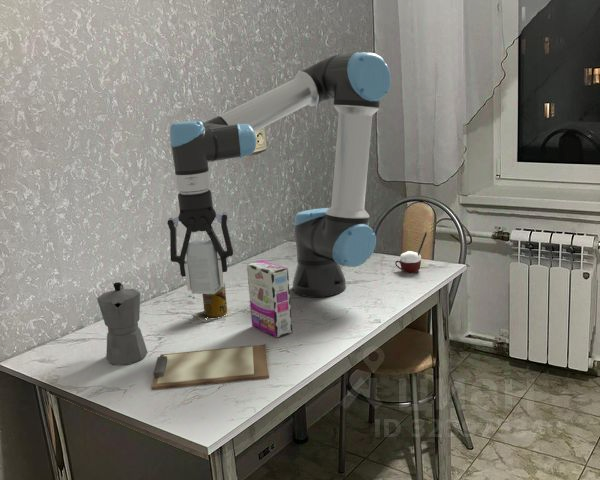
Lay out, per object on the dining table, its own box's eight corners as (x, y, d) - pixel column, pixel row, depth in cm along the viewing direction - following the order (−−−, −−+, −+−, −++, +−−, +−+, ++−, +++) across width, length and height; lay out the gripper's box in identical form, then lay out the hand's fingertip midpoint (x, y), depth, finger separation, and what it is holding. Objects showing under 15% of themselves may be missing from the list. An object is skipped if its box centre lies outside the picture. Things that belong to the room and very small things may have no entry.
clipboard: (265, 346, 152) (265, 339, 151) (268, 377, 136) (268, 370, 136) (160, 356, 150) (159, 349, 150) (152, 389, 135) (150, 381, 134)
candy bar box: (293, 332, 159) (289, 268, 155) (277, 338, 156) (271, 273, 152) (267, 320, 168) (262, 259, 163) (251, 326, 165) (245, 263, 160)
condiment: (233, 314, 173) (229, 271, 170) (204, 323, 169) (199, 278, 166) (221, 307, 179) (216, 265, 176) (192, 315, 175) (187, 272, 172)
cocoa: (394, 273, 199) (390, 235, 196) (402, 267, 204) (399, 230, 201) (423, 276, 194) (420, 237, 190) (431, 269, 198) (428, 231, 195)
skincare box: (222, 288, 156) (216, 240, 153) (214, 295, 152) (208, 245, 149) (199, 287, 158) (193, 239, 155) (190, 293, 154) (184, 244, 151)
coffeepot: (148, 365, 146) (138, 288, 142) (104, 372, 144) (92, 294, 140) (147, 339, 161) (138, 269, 156) (108, 345, 159) (97, 274, 154)
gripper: (147, 198, 144) (161, 296, 150) (238, 189, 145) (248, 287, 152) (151, 192, 151) (165, 286, 157) (238, 183, 153) (248, 277, 159)
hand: (206, 286), depth 154 cm, fingers closed on skincare box, 7 cm apart
